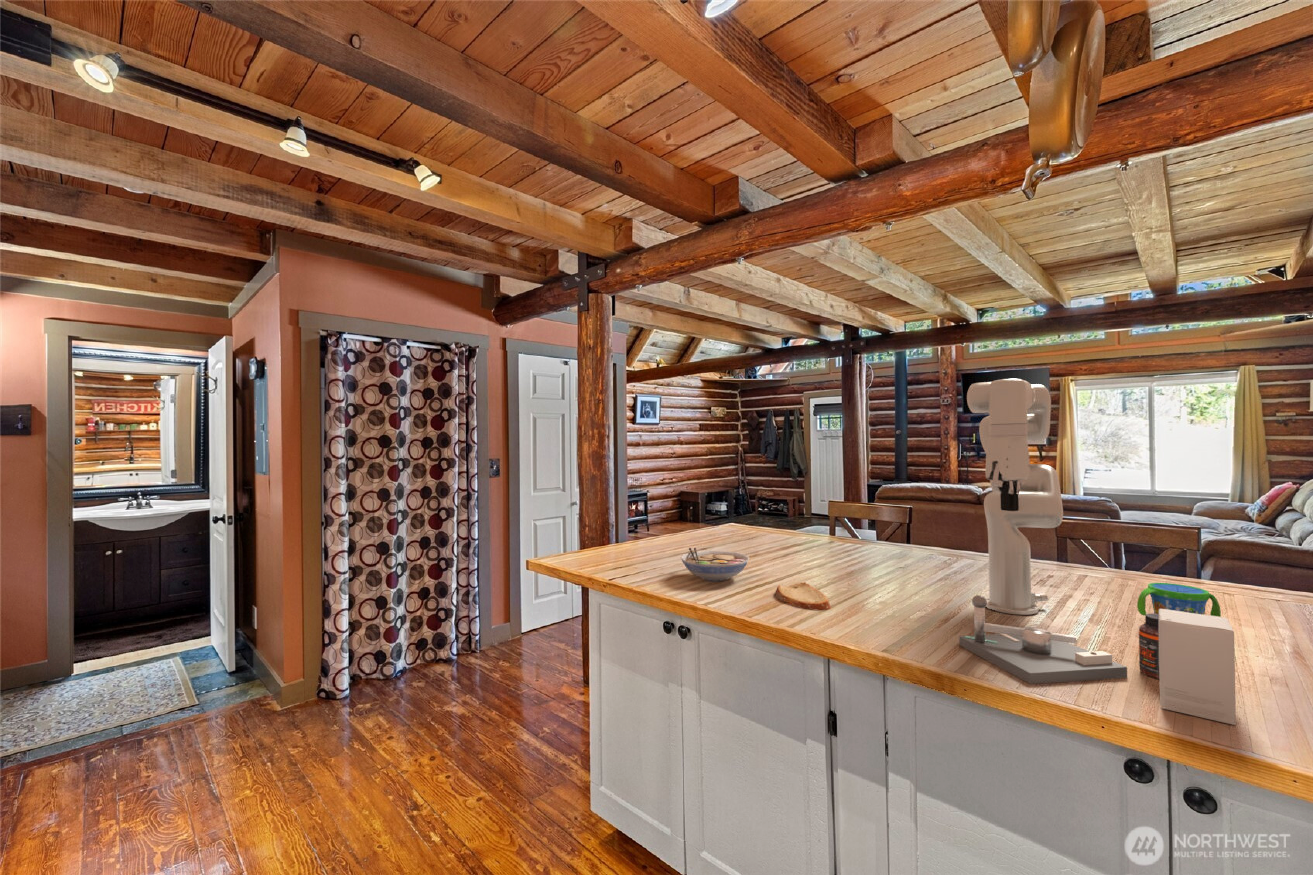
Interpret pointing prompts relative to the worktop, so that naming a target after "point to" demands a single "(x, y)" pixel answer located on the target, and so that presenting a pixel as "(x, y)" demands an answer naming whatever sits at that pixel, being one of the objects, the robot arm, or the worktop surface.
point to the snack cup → (1177, 599)
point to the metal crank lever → (1016, 631)
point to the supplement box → (1197, 665)
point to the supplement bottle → (1149, 646)
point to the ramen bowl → (714, 564)
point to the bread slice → (803, 596)
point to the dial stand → (1044, 660)
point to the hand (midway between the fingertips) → (1009, 510)
